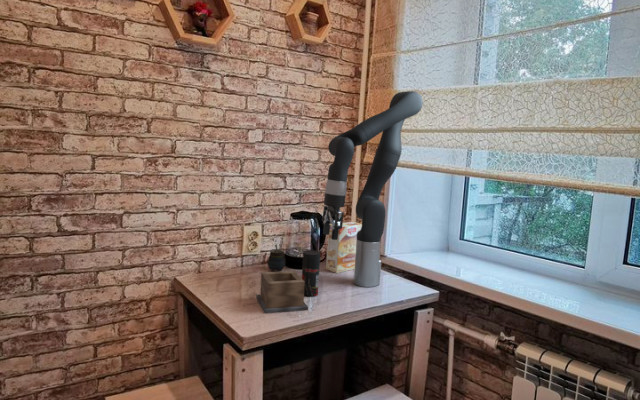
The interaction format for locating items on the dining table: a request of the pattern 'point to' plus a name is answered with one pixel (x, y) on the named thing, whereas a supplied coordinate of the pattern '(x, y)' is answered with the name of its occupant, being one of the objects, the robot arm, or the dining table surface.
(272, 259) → the mate gourd
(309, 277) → the deodorant
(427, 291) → the dining table surface
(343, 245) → the coffeecake box
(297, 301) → the sleeve holder
